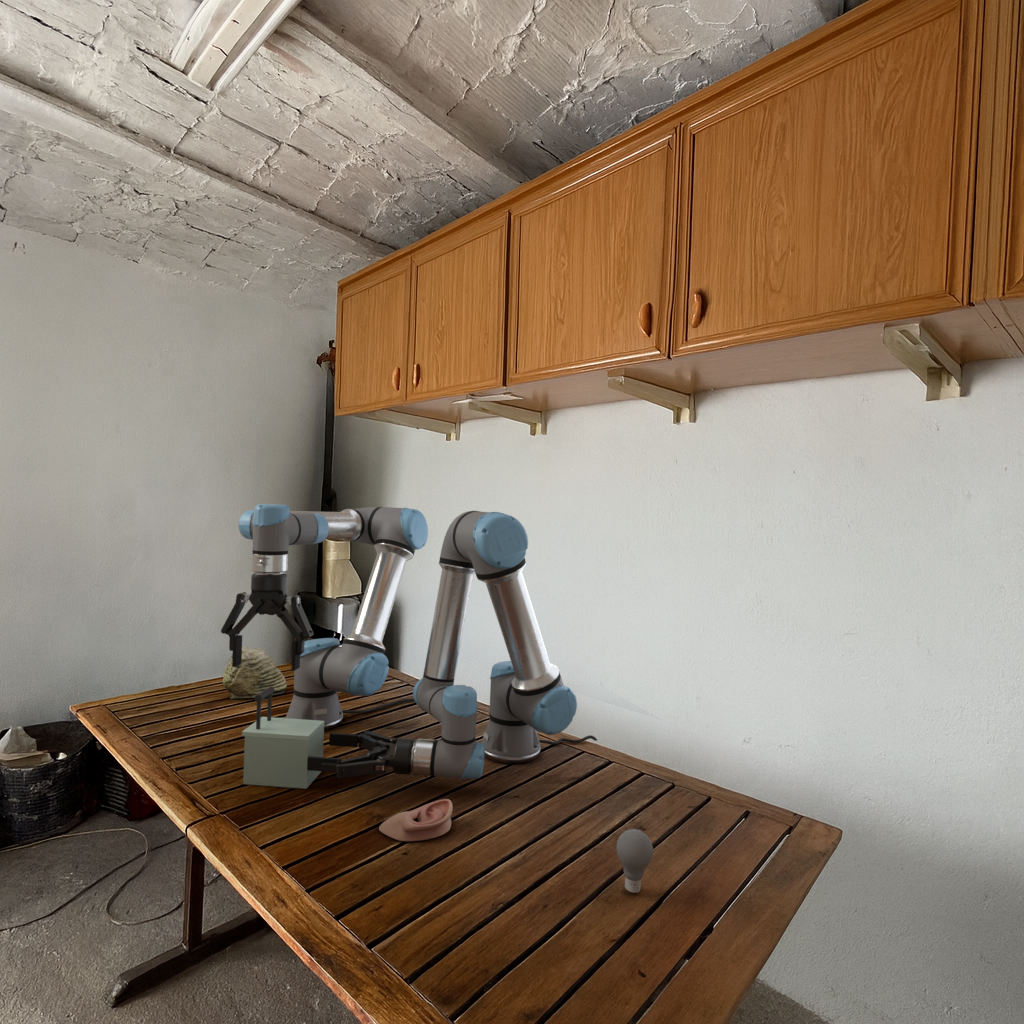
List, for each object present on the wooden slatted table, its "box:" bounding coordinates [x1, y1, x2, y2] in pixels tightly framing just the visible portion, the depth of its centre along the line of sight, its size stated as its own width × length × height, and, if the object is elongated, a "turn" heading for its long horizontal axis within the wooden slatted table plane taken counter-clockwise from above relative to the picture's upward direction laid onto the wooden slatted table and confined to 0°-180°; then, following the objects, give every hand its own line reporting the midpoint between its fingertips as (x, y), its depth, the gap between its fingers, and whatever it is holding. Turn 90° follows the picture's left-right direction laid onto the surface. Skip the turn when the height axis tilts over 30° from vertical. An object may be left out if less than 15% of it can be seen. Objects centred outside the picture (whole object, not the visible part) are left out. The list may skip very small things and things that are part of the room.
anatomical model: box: [378, 798, 454, 842], centre depth 123 cm, size 13×4×12 cm
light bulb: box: [615, 828, 654, 894], centre depth 106 cm, size 6×6×10 cm
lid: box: [241, 687, 324, 741], centre depth 142 cm, size 15×10×9 cm, turn 86°
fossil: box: [222, 646, 288, 699], centre depth 198 cm, size 9×18×15 cm, turn 132°
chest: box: [242, 726, 325, 789], centre depth 142 cm, size 14×10×10 cm
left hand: (266, 667), depth 142 cm, fingers open, 13 cm apart
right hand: (319, 750), depth 141 cm, fingers open, 13 cm apart
